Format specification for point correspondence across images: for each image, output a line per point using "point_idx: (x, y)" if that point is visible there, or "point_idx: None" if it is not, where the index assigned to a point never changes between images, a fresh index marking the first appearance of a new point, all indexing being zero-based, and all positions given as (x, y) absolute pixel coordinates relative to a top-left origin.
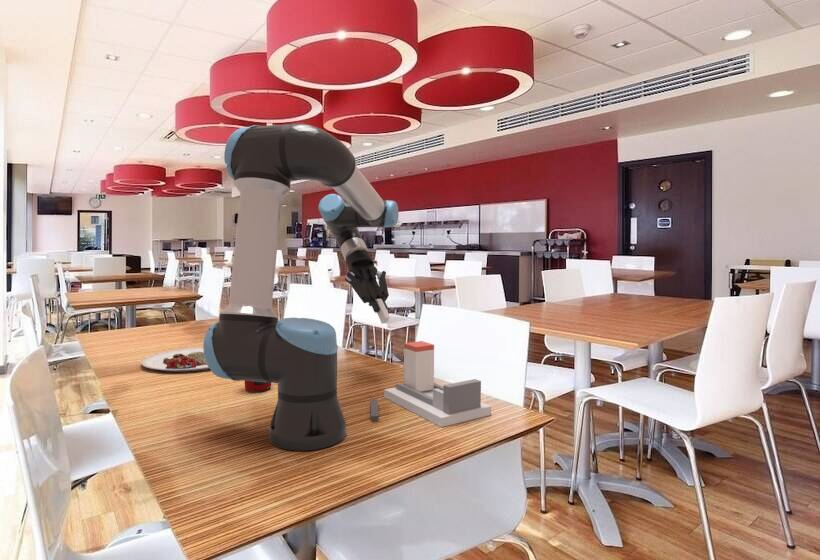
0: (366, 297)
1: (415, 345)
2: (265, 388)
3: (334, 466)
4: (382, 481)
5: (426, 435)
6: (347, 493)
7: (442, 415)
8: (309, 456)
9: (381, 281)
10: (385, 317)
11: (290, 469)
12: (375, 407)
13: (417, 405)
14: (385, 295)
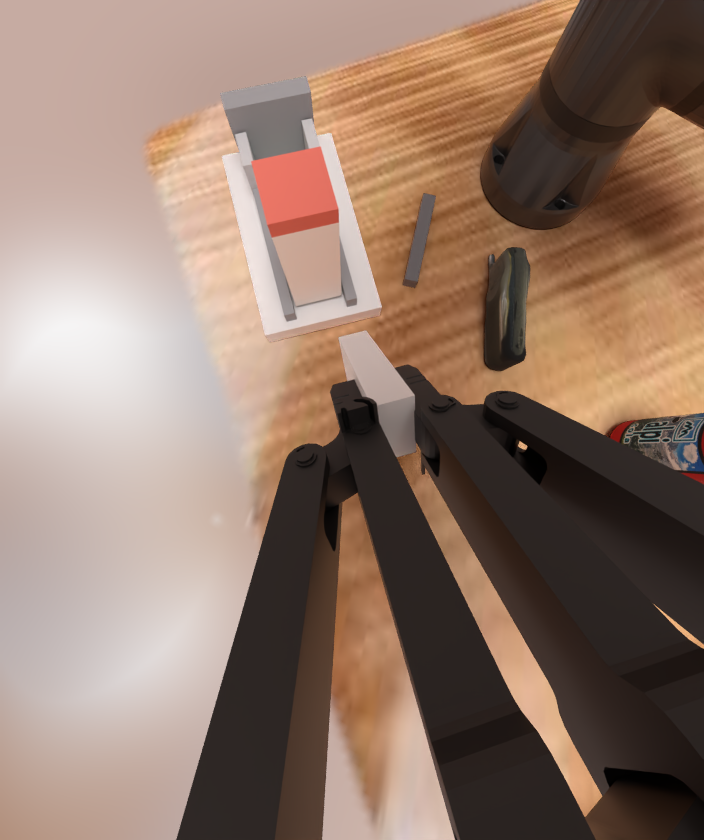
0: (512, 394)
1: (313, 168)
2: (619, 425)
3: (508, 82)
4: (459, 34)
5: (365, 130)
6: (501, 23)
7: (325, 142)
8: None
9: (297, 755)
10: (365, 331)
11: None
12: (419, 232)
13: (348, 197)
14: (322, 448)
